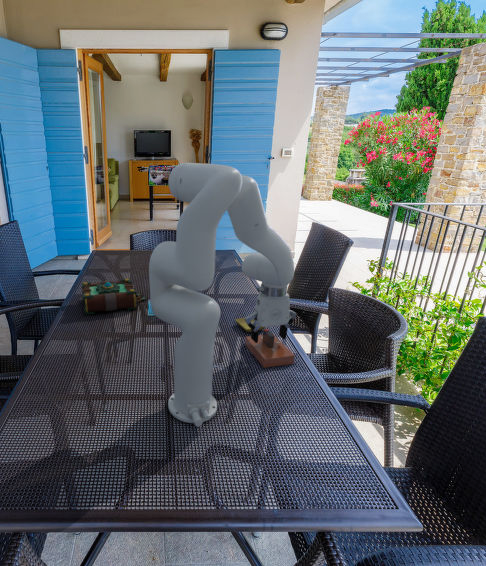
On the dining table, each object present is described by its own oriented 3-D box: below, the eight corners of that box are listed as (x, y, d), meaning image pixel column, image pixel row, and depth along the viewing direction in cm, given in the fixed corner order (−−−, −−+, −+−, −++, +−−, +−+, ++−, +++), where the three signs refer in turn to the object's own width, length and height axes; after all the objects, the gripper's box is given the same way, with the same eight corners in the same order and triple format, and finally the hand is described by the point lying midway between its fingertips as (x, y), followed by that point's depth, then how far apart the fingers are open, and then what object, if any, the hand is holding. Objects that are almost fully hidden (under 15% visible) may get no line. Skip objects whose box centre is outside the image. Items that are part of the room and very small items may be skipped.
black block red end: (273, 347, 119) (274, 335, 117) (268, 347, 119) (270, 336, 117) (266, 340, 123) (268, 328, 122) (262, 340, 123) (263, 329, 121)
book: (141, 290, 171) (141, 269, 167) (152, 309, 152) (151, 286, 148) (82, 296, 164) (80, 274, 161) (84, 317, 145) (82, 293, 142)
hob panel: (293, 363, 116) (295, 354, 115) (263, 367, 114) (264, 359, 113) (272, 341, 128) (273, 333, 127) (244, 344, 126) (245, 336, 125)
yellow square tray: (234, 324, 140) (234, 318, 140) (254, 320, 143) (255, 315, 142) (246, 334, 133) (246, 329, 132) (267, 330, 135) (267, 325, 135)
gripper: (252, 297, 109) (248, 348, 115) (306, 291, 112) (299, 341, 119) (242, 287, 116) (238, 336, 122) (293, 282, 119) (287, 330, 126)
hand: (268, 339), depth 120 cm, fingers open, 9 cm apart
